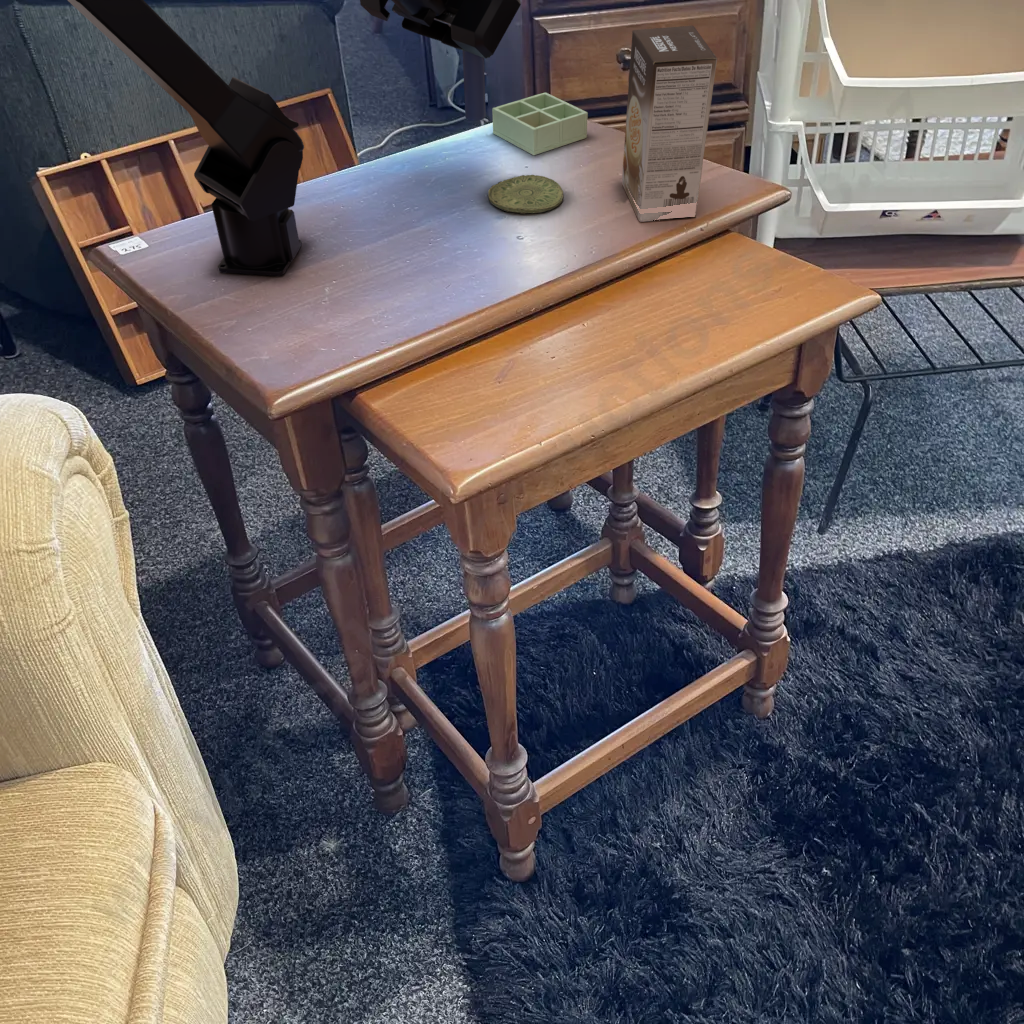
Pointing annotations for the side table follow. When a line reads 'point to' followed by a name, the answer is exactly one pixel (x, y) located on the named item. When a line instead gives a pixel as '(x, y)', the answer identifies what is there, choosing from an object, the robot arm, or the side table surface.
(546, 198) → the medallion
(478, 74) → the tall navy cylinder rod
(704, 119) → the coffee box
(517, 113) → the grid
